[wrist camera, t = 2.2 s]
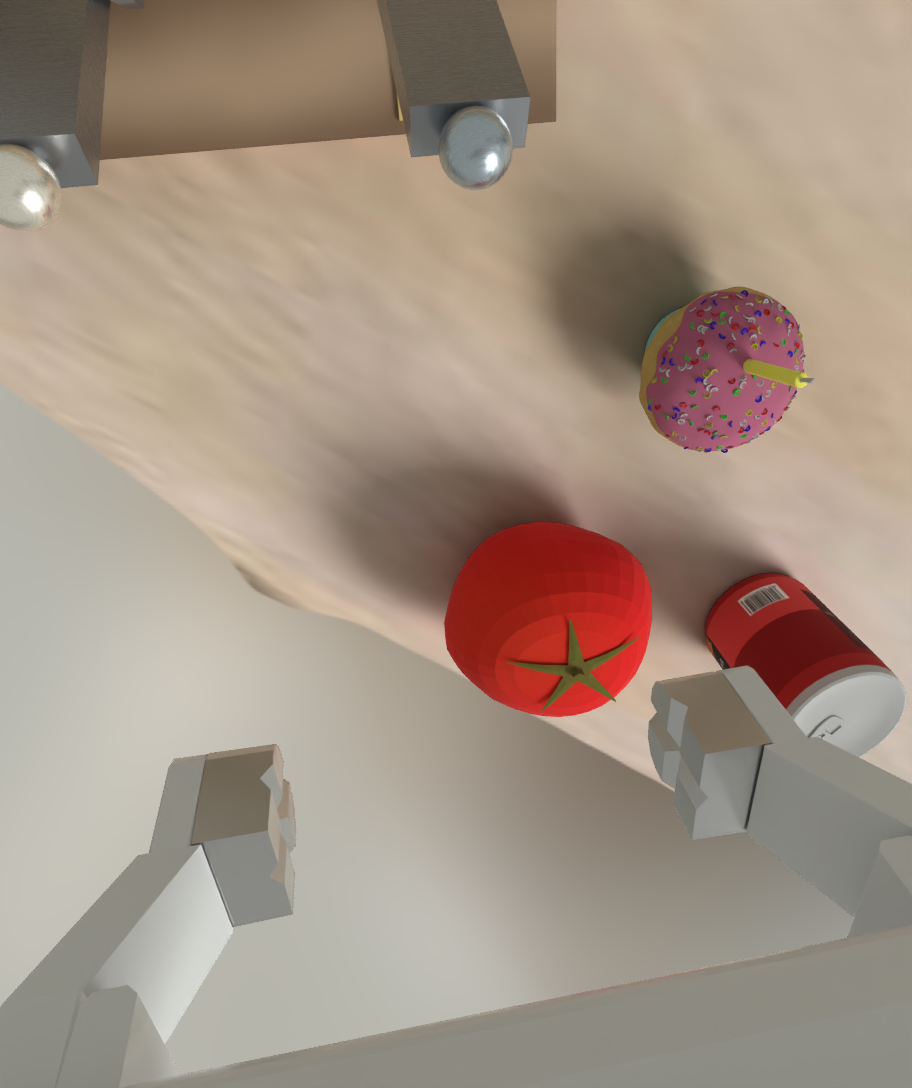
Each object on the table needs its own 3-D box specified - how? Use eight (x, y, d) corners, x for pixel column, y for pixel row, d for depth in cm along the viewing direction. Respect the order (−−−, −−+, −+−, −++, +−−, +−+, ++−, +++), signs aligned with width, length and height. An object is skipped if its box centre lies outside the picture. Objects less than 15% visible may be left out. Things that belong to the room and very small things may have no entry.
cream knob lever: (114, 8, 27) (98, 242, 21) (9, 15, 26) (-33, 254, 21) (88, -64, 25) (64, 173, 19) (-25, -58, 24) (-81, 185, 19)
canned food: (680, 644, 54) (757, 758, 44) (743, 555, 50) (840, 657, 41) (761, 668, 56) (849, 780, 47) (825, 585, 53) (934, 688, 44)
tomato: (590, 645, 52) (646, 756, 43) (421, 634, 50) (444, 751, 41) (639, 504, 47) (715, 598, 38) (453, 484, 44) (487, 580, 35)
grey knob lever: (468, -15, 28) (538, 200, 23) (373, -9, 28) (421, 211, 22) (470, -85, 26) (547, 131, 21) (368, -80, 26) (420, 142, 20)
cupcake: (620, 276, 39) (724, 336, 29) (769, 265, 40) (921, 318, 30) (609, 427, 44) (697, 524, 34) (744, 413, 45) (869, 504, 35)
